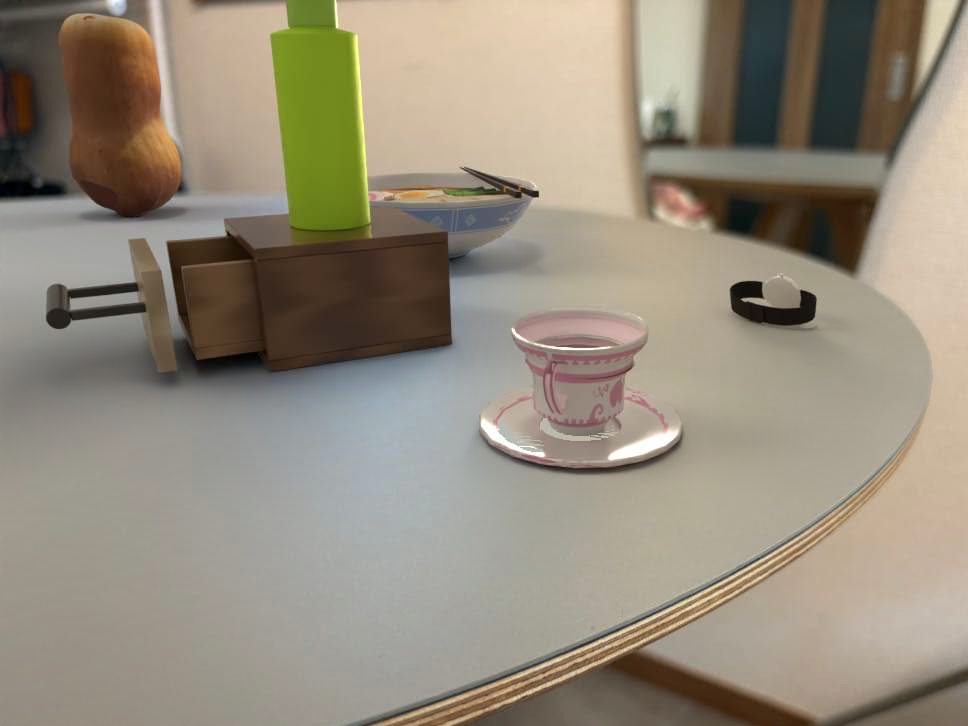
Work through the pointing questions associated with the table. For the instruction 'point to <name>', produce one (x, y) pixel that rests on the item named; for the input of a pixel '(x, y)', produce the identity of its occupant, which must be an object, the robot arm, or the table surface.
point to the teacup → (582, 392)
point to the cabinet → (348, 287)
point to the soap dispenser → (321, 118)
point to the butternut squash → (117, 115)
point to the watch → (774, 302)
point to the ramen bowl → (457, 203)
